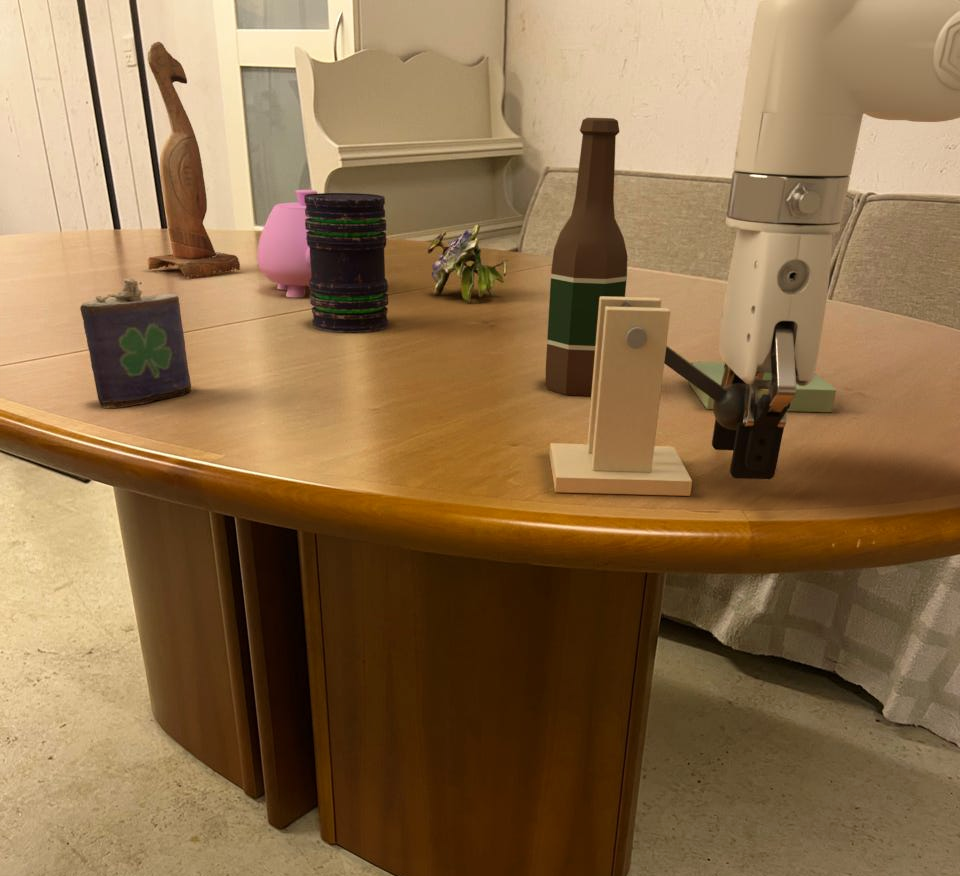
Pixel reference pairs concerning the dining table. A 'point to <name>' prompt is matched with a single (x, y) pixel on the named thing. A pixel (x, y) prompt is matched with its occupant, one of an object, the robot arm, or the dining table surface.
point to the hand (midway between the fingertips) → (741, 460)
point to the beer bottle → (585, 264)
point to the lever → (711, 389)
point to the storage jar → (347, 261)
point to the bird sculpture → (183, 181)
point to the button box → (805, 399)
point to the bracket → (624, 409)
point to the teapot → (286, 247)
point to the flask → (136, 347)
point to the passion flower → (464, 264)
